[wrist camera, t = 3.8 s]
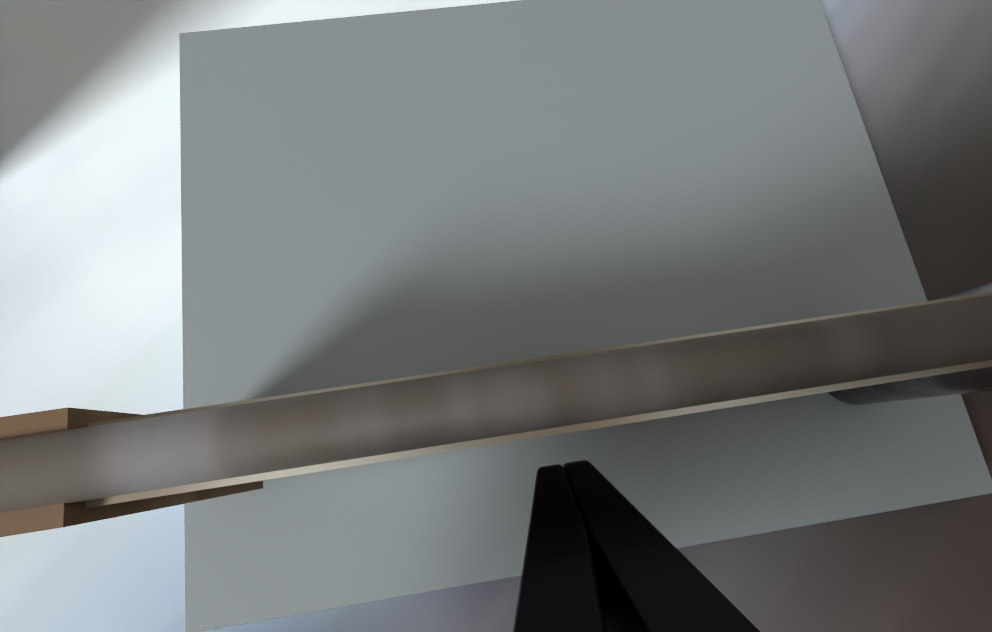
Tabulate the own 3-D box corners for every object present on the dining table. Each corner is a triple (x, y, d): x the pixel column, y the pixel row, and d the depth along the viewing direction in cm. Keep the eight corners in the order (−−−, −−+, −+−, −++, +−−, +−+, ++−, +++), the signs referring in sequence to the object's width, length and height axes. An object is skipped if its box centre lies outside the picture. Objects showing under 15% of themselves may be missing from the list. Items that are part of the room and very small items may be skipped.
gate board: (796, -9, 20) (1031, -345, 11) (970, 490, 15) (1549, 540, 7) (192, 51, 18) (-51, -287, 10) (202, 623, 14) (-211, 888, 6)
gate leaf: (799, 345, 15) (1078, 258, 8) (816, 401, 15) (1123, 360, 8) (198, 435, 14) (-82, 423, 7) (200, 497, 14) (-97, 553, 7)
